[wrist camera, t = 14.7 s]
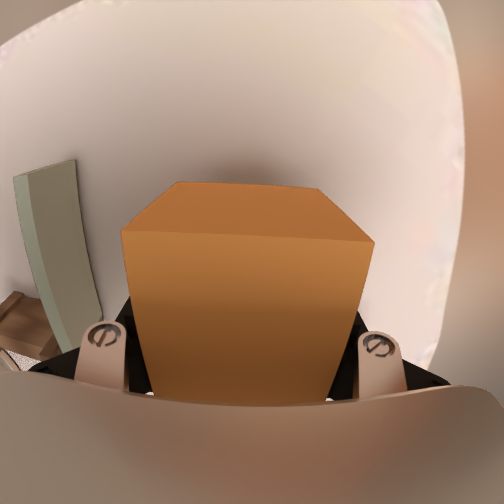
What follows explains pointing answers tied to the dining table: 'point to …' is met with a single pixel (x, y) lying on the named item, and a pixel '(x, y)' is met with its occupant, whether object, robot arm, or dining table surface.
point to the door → (58, 250)
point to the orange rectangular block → (244, 291)
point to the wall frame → (27, 328)
